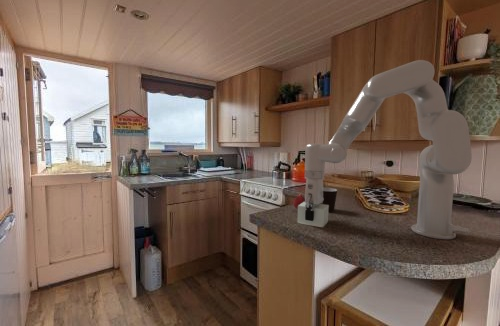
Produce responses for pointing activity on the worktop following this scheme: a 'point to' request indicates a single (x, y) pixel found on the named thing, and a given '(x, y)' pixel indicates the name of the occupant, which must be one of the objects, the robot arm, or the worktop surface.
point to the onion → (298, 200)
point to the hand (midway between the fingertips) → (312, 217)
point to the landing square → (310, 224)
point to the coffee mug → (329, 198)
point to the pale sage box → (319, 214)
